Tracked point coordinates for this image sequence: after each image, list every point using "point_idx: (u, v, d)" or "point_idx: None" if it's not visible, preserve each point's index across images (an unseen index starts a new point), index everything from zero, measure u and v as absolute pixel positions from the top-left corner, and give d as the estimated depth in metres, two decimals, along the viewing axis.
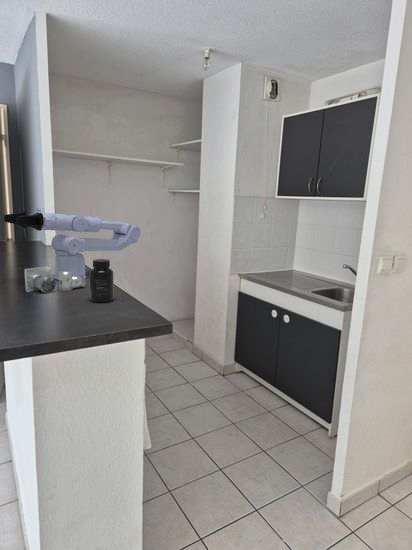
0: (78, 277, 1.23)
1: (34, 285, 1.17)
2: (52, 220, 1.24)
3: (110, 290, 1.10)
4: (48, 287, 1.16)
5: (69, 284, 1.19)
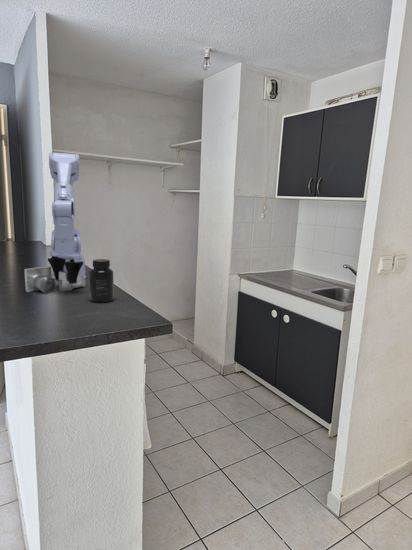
0: (78, 277, 1.23)
1: (34, 285, 1.17)
2: (68, 244, 1.16)
3: (110, 290, 1.10)
4: (48, 287, 1.16)
5: (69, 284, 1.19)
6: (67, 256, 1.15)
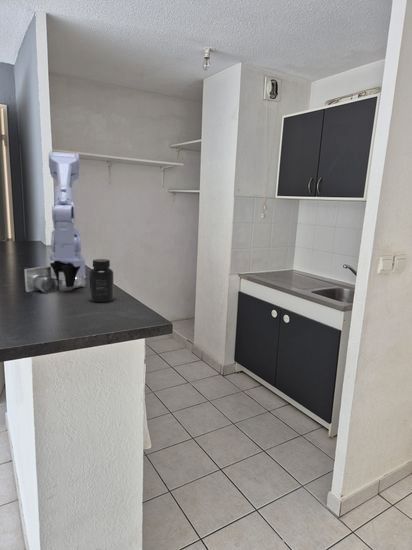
0: (78, 277, 1.23)
1: (34, 285, 1.17)
2: (68, 248, 1.16)
3: (110, 290, 1.10)
4: (48, 287, 1.16)
5: None
6: (67, 260, 1.15)
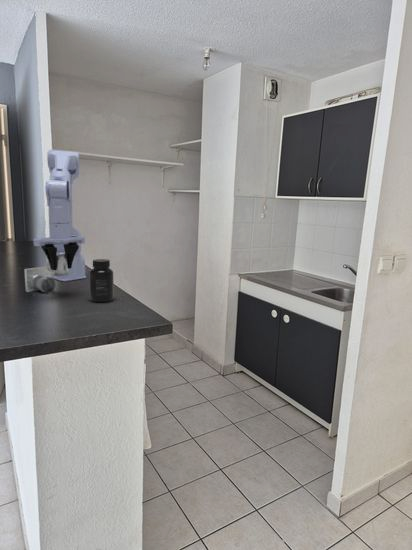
0: None
1: (34, 285, 1.17)
2: None
3: (110, 290, 1.10)
4: (48, 287, 1.16)
5: None
6: (76, 239, 1.11)
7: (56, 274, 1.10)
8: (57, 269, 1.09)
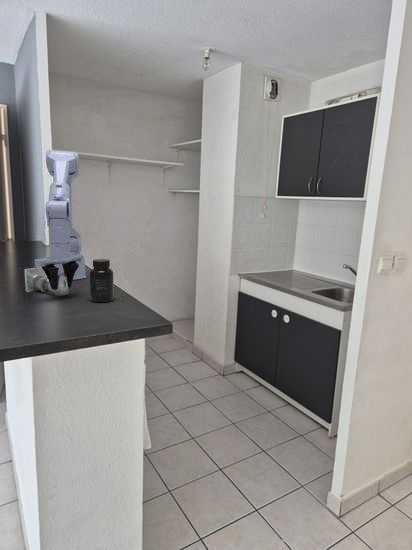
0: None
1: (34, 285, 1.17)
2: None
3: (110, 290, 1.10)
4: None
5: None
6: (75, 258, 1.12)
7: (57, 293, 1.10)
8: (58, 288, 1.10)
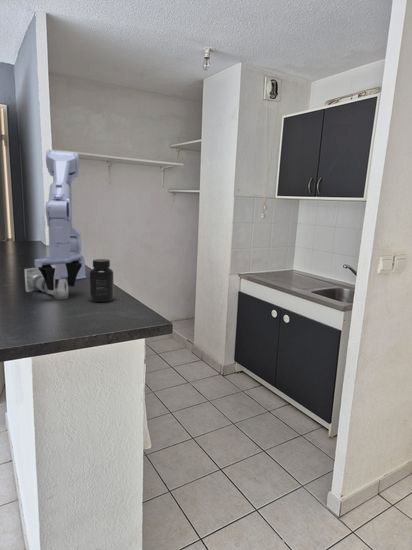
0: None
1: (34, 285, 1.17)
2: None
3: (110, 290, 1.10)
4: None
5: None
6: (75, 258, 1.12)
7: (57, 297, 1.10)
8: (58, 293, 1.10)
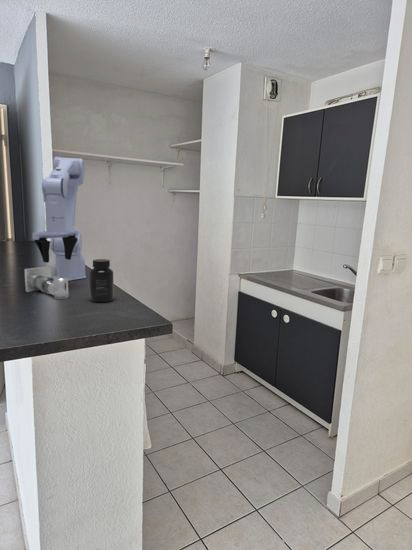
0: None
1: (34, 285, 1.17)
2: None
3: (110, 290, 1.10)
4: None
5: None
6: (71, 232, 1.19)
7: (57, 297, 1.10)
8: (58, 292, 1.10)
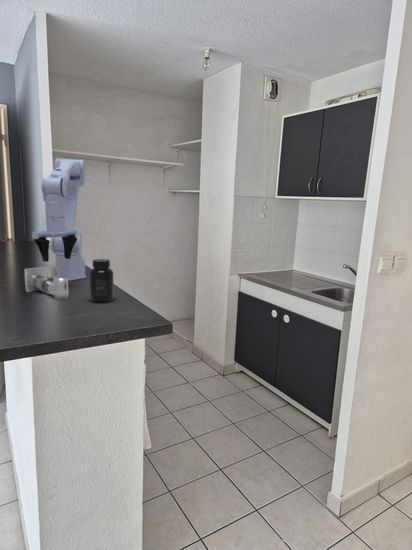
0: None
1: (34, 285, 1.17)
2: None
3: (110, 290, 1.10)
4: None
5: None
6: (70, 232, 1.20)
7: (57, 297, 1.10)
8: (58, 292, 1.10)
